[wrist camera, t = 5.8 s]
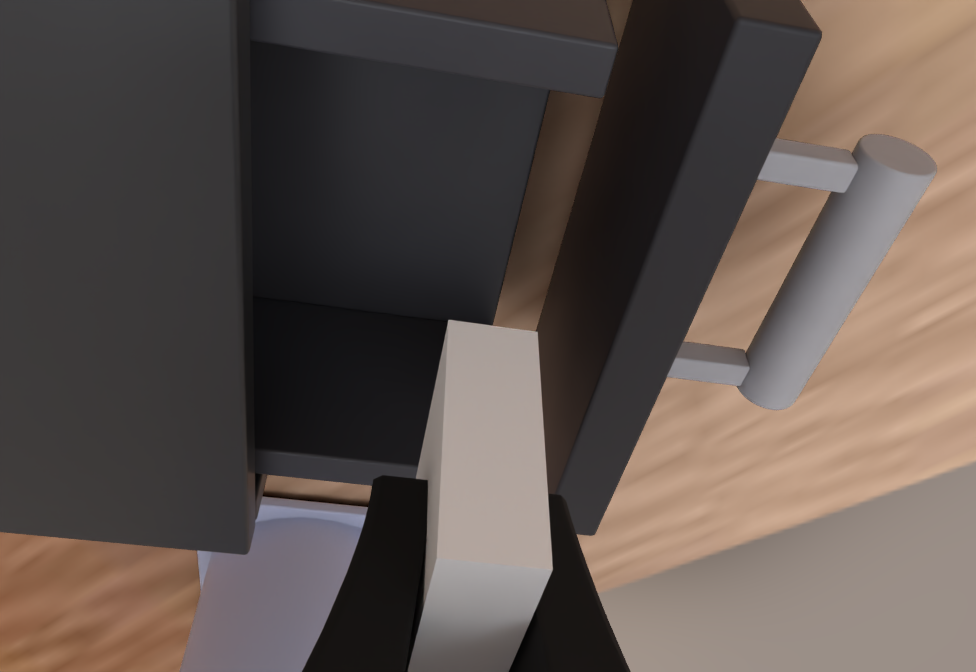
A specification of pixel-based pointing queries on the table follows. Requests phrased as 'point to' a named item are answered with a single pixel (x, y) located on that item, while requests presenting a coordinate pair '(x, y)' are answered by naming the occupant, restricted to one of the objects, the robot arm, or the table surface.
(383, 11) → the basket
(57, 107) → the air fryer
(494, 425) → the eraser
